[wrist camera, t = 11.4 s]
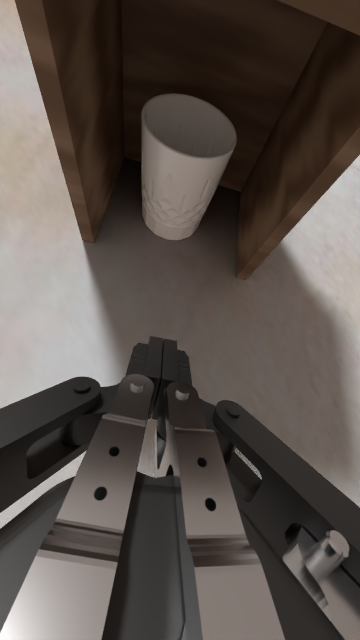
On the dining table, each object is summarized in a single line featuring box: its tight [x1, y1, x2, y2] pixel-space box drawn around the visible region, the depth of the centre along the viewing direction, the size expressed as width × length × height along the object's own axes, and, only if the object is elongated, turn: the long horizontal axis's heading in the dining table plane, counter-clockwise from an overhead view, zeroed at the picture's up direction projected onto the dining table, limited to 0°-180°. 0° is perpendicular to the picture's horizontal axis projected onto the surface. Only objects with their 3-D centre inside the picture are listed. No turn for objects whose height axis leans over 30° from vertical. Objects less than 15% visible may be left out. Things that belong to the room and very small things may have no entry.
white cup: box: [141, 93, 237, 240], centre depth 23 cm, size 8×8×10 cm
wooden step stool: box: [15, 0, 360, 279], centre depth 19 cm, size 16×21×20 cm
